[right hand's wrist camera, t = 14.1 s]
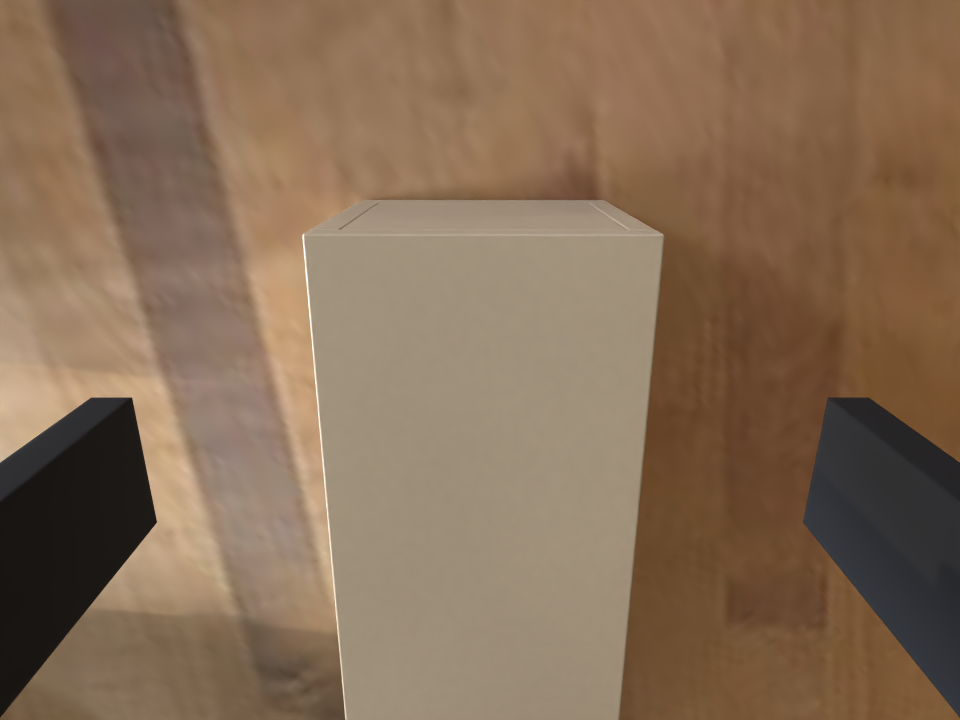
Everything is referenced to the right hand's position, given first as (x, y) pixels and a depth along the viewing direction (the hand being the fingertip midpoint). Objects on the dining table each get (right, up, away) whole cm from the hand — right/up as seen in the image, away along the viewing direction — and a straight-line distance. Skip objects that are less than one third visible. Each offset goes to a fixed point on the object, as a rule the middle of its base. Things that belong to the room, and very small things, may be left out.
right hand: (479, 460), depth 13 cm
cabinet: (0, -2, +17) cm, 17 cm away
